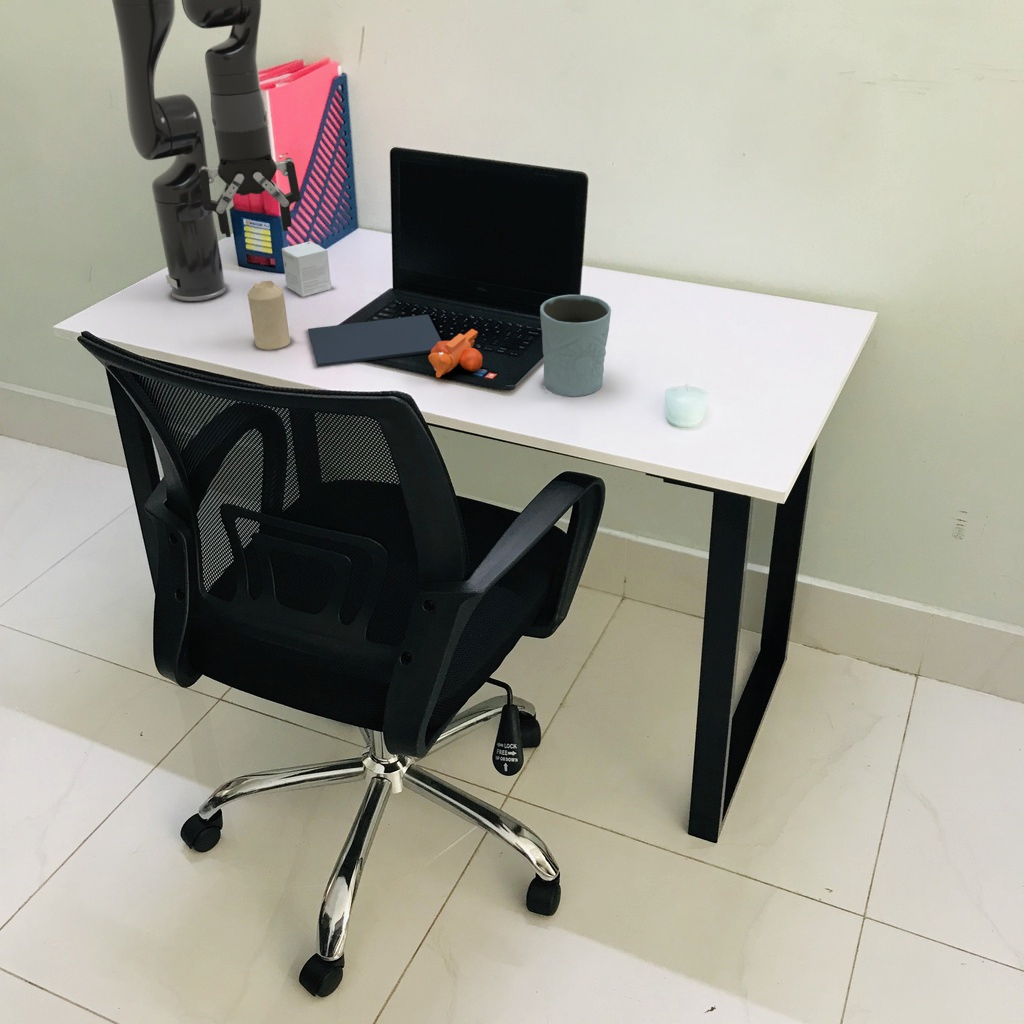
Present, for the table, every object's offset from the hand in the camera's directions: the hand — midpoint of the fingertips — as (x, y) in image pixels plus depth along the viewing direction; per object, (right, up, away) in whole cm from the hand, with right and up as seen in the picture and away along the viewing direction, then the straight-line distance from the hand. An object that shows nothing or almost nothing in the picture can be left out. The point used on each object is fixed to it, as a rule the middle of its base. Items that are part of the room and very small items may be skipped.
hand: (256, 232), depth 169 cm
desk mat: (+17, -15, +10) cm, 24 cm away
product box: (+3, -3, +29) cm, 30 cm away
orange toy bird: (+31, -21, +1) cm, 37 cm away
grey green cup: (+48, -24, -5) cm, 54 cm away
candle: (0, -15, +10) cm, 18 cm away
